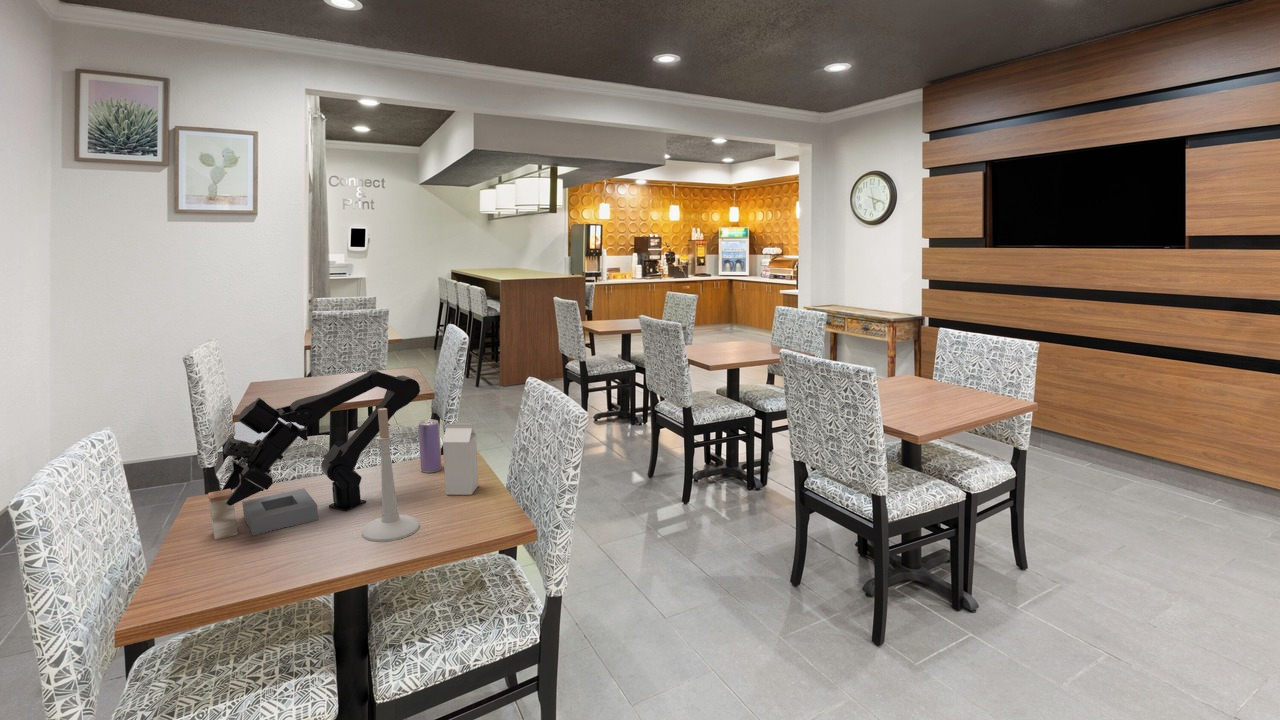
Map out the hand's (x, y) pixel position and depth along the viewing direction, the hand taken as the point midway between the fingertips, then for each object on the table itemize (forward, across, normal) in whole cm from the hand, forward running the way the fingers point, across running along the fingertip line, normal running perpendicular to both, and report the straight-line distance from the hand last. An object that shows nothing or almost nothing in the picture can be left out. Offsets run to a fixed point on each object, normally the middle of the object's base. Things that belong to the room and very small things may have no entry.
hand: (225, 498), depth 149 cm
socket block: (-2, -2, +14) cm, 14 cm away
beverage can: (-32, -13, +44) cm, 56 cm away
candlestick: (-15, +23, +27) cm, 39 cm away
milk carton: (-32, +9, +44) cm, 55 cm away
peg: (+6, 0, +6) cm, 9 cm away
